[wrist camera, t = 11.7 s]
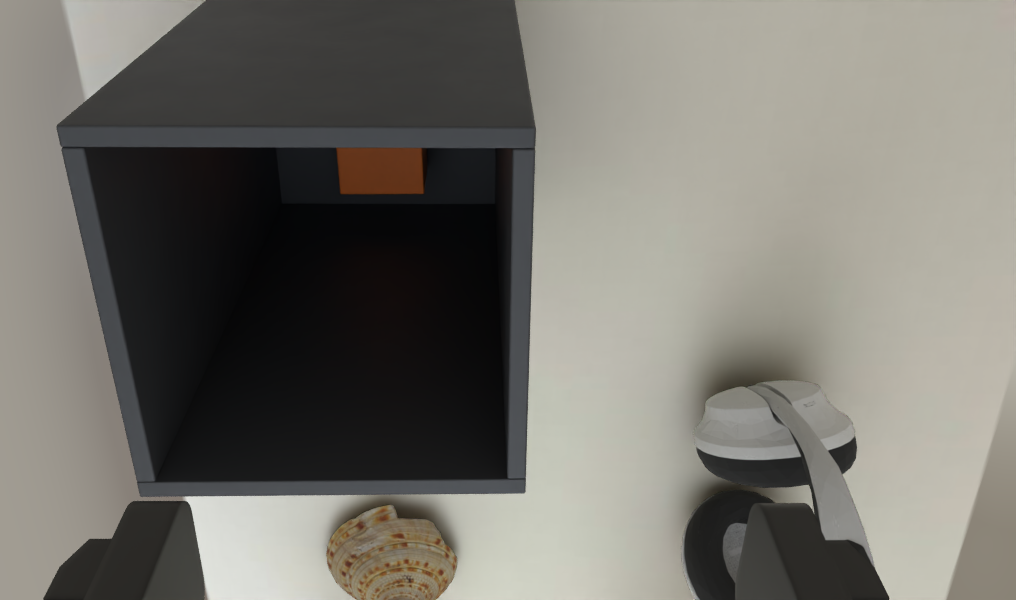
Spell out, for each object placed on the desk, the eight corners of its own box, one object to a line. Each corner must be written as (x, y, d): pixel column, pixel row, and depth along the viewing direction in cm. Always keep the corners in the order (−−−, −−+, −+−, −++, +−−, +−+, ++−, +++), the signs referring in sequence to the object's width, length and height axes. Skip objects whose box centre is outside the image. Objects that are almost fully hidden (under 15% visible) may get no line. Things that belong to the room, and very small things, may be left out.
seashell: (435, 503, 57) (461, 628, 58) (445, 475, 62) (469, 589, 63) (303, 526, 57) (331, 650, 58) (325, 496, 63) (350, 610, 64)
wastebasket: (245, -34, 44) (54, 125, 24) (509, -32, 44) (535, 126, 24) (273, 209, 50) (139, 497, 30) (506, 209, 50) (525, 493, 30)
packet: (337, 28, 45) (327, 47, 41) (422, 28, 45) (418, 47, 42) (348, 168, 48) (339, 195, 45) (427, 167, 48) (424, 194, 45)
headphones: (684, 330, 54) (784, 597, 36) (830, 324, 54) (1001, 588, 37) (667, 576, 63) (739, 881, 46) (791, 570, 63) (912, 873, 46)
